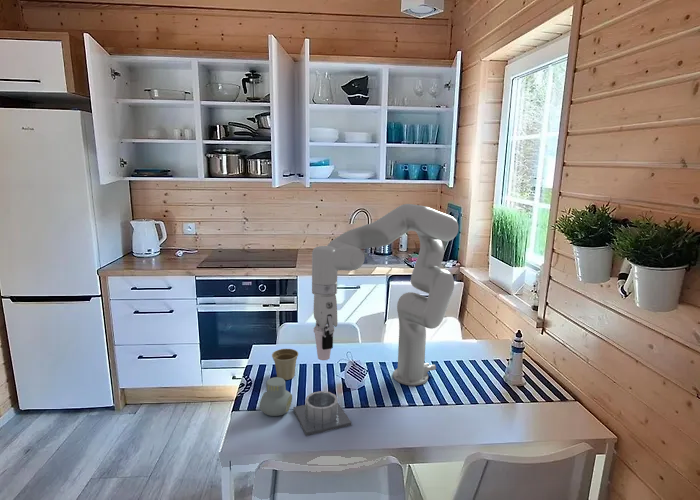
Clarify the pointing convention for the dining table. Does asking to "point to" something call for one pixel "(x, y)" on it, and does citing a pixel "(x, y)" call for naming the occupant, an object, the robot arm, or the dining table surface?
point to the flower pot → (285, 363)
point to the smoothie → (318, 336)
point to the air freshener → (275, 398)
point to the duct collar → (321, 413)
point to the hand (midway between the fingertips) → (324, 343)
